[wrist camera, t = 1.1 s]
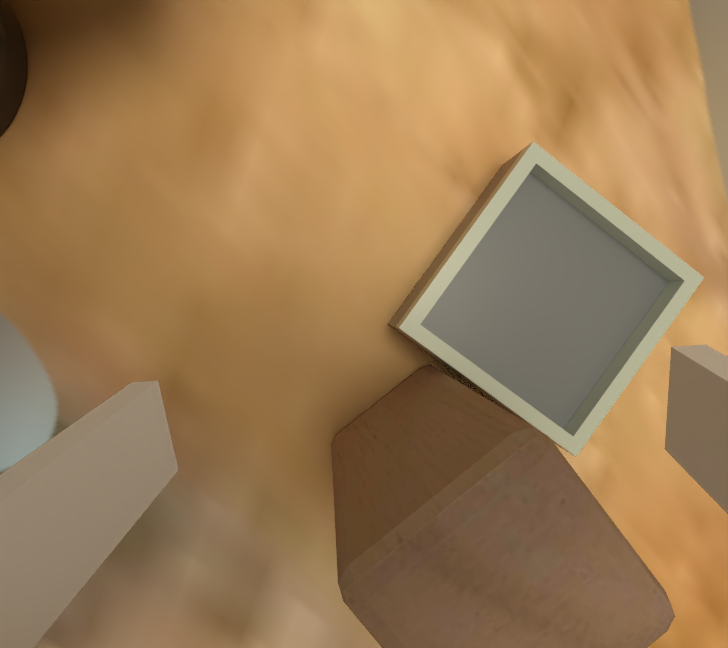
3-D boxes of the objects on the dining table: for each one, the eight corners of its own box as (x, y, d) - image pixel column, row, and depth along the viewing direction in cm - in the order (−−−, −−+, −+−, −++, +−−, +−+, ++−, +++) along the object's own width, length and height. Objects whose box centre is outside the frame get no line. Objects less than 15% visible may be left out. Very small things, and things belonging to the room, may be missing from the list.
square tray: (388, 324, 37) (398, 328, 32) (502, 164, 37) (533, 141, 32) (540, 434, 39) (576, 456, 33) (650, 280, 39) (704, 277, 33)
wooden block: (405, 537, 38) (493, 795, 18) (325, 439, 37) (327, 597, 17) (504, 457, 39) (697, 624, 19) (428, 358, 38) (545, 422, 18)
